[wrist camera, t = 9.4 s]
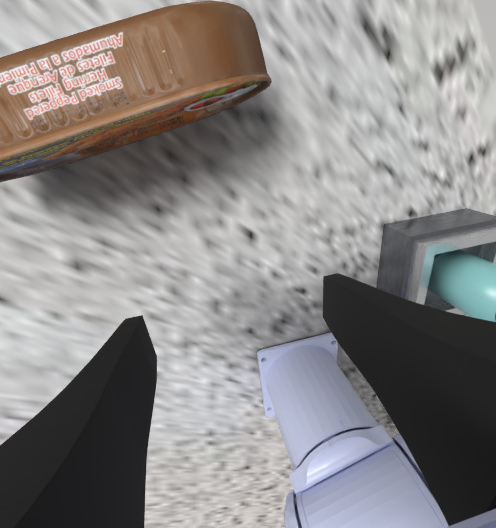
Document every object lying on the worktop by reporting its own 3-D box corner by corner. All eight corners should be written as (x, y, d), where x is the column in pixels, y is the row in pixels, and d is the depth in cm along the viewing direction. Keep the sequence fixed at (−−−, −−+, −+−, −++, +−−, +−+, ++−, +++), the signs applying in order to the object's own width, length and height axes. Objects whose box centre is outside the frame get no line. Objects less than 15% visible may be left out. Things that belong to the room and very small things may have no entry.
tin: (11, 182, 16) (-131, 226, 9) (-29, 125, 15) (-239, 120, 7) (250, 103, 17) (303, 82, 10) (235, 41, 16) (284, -39, 8)
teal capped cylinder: (463, 286, 24) (543, 330, 19) (421, 297, 23) (492, 346, 18) (473, 243, 22) (565, 279, 17) (428, 255, 22) (509, 296, 16)
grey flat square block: (447, 286, 28) (488, 310, 24) (374, 303, 27) (406, 331, 23) (466, 208, 24) (518, 222, 20) (383, 224, 23) (422, 242, 19)
